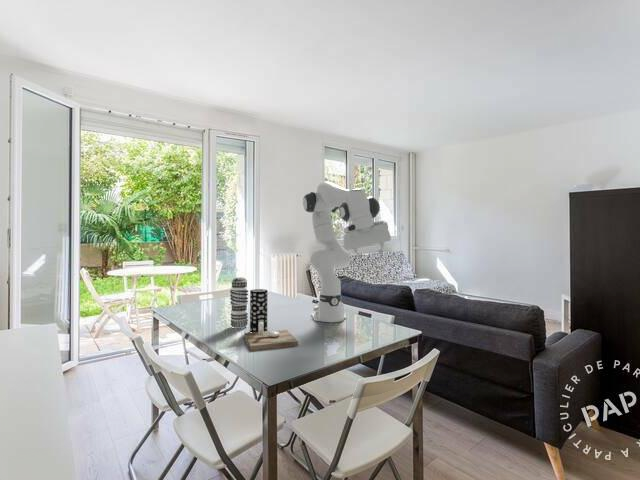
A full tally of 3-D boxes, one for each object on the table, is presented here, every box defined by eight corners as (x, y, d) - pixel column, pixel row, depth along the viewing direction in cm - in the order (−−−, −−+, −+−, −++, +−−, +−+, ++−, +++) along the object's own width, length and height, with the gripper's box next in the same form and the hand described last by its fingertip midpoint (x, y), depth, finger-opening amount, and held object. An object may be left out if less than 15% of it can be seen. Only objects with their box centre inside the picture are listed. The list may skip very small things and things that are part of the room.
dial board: (244, 337, 160) (244, 332, 160) (286, 333, 167) (286, 329, 167) (250, 350, 143) (250, 345, 143) (297, 345, 149) (297, 340, 149)
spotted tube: (270, 330, 173) (270, 289, 173) (262, 334, 165) (262, 292, 165) (255, 328, 176) (255, 288, 176) (246, 332, 168) (246, 291, 168)
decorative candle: (230, 330, 173) (230, 279, 172) (229, 325, 182) (229, 277, 181) (248, 328, 175) (249, 278, 175) (247, 324, 184) (247, 276, 184)
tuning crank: (278, 333, 159) (278, 320, 159) (280, 336, 155) (280, 322, 155) (256, 335, 156) (256, 321, 155) (258, 338, 151) (258, 324, 151)
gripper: (384, 220, 155) (391, 251, 154) (339, 230, 153) (347, 261, 152) (388, 218, 149) (396, 250, 148) (341, 228, 147) (349, 261, 146)
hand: (370, 256), depth 150 cm, fingers open, 8 cm apart
